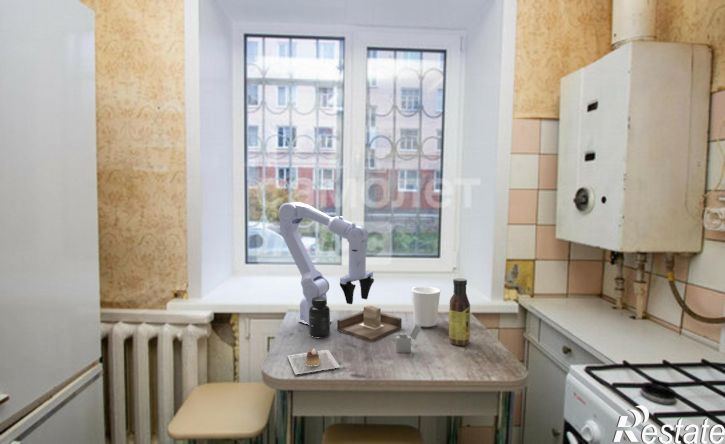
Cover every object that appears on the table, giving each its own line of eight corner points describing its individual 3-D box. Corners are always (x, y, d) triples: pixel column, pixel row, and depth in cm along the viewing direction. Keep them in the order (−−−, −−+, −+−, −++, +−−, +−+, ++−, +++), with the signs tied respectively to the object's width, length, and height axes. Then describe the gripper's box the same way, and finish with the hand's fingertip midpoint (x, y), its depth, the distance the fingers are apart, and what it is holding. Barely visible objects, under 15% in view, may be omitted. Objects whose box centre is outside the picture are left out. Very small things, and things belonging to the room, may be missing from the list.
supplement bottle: (304, 334, 125) (304, 298, 124) (321, 329, 130) (321, 294, 129) (316, 340, 120) (316, 302, 119) (334, 334, 125) (334, 298, 124)
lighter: (396, 352, 112) (396, 325, 111) (395, 350, 113) (396, 323, 113) (420, 352, 112) (421, 325, 111) (419, 349, 113) (420, 323, 113)
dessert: (287, 359, 108) (286, 342, 108) (328, 353, 112) (328, 337, 112) (295, 378, 97) (294, 360, 96) (340, 371, 101) (340, 353, 101)
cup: (405, 322, 137) (406, 287, 136) (428, 319, 141) (429, 285, 140) (421, 332, 128) (421, 294, 127) (445, 327, 132) (446, 291, 131)
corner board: (337, 330, 129) (337, 320, 129) (368, 318, 141) (368, 309, 141) (371, 341, 119) (371, 330, 119) (401, 328, 131) (401, 318, 131)
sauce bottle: (470, 347, 115) (471, 282, 114) (448, 345, 117) (450, 281, 115) (468, 339, 122) (470, 277, 120) (448, 337, 123) (449, 276, 121)
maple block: (374, 328, 128) (374, 310, 127) (363, 324, 131) (363, 307, 131) (380, 325, 130) (380, 308, 130) (369, 322, 133) (369, 305, 133)
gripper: (351, 266, 121) (351, 308, 122) (379, 260, 132) (379, 298, 133) (335, 263, 126) (335, 303, 127) (364, 257, 137) (364, 295, 138)
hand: (357, 301), depth 130 cm, fingers open, 7 cm apart
